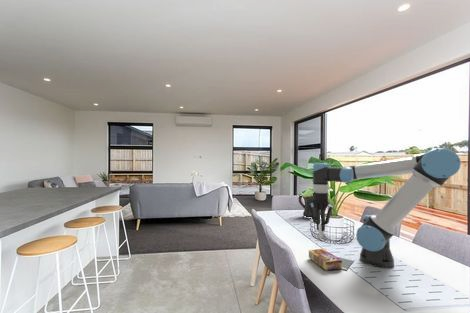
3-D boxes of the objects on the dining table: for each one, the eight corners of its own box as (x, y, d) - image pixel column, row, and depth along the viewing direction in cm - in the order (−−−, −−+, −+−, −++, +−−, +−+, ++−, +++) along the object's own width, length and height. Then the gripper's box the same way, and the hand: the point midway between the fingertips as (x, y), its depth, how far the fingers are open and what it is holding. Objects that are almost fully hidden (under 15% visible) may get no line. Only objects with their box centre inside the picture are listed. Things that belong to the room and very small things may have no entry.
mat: (354, 261, 124) (354, 260, 124) (346, 270, 113) (346, 269, 113) (325, 254, 133) (325, 253, 133) (316, 262, 122) (316, 261, 122)
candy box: (308, 258, 127) (325, 270, 112) (308, 249, 127) (325, 261, 112) (323, 256, 129) (342, 268, 114) (323, 248, 129) (342, 259, 114)
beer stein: (325, 219, 213) (325, 190, 213) (305, 220, 208) (305, 191, 209) (315, 214, 229) (315, 188, 229) (296, 215, 225) (296, 189, 225)
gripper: (335, 192, 127) (335, 237, 127) (311, 190, 135) (311, 232, 135) (330, 193, 121) (331, 241, 121) (305, 191, 130) (306, 235, 129)
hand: (320, 236), depth 128 cm, fingers closed
